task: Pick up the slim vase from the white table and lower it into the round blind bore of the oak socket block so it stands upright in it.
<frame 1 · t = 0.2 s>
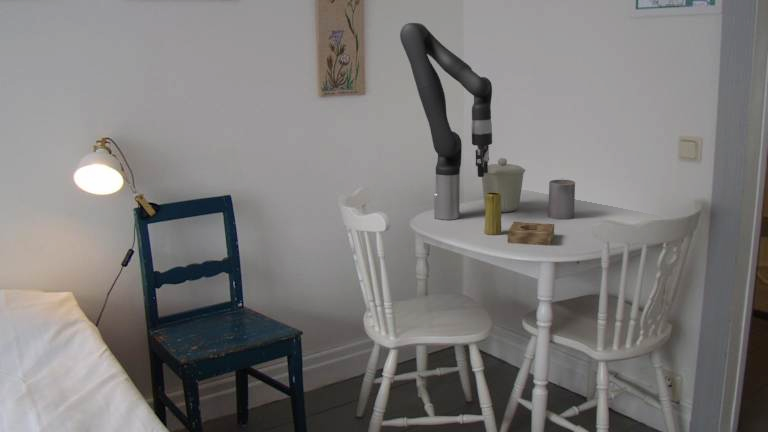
hand: (482, 174, 277), 17 cm above the table, tool pointing down, fingers open, 8 cm apart
canister: (501, 210, 298), on the table
vase: (492, 233, 261), on the table
socket block: (531, 238, 252), on the table
pillar candle: (560, 217, 284), on the table
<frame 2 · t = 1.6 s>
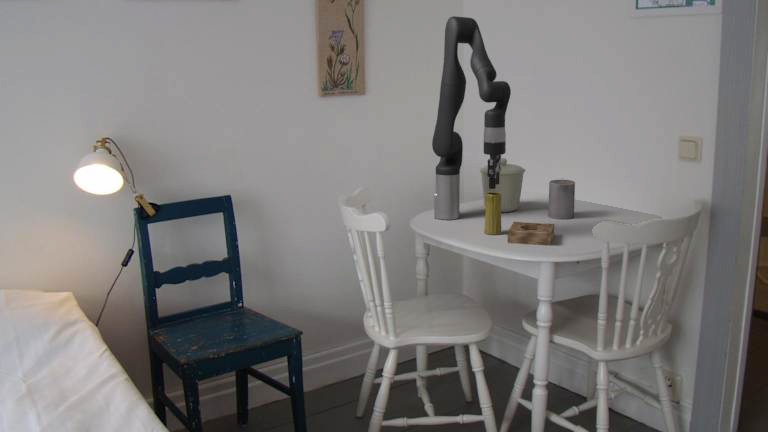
hand: (494, 186, 257), 17 cm above the table, tool pointing down, fingers open, 8 cm apart
nothing on the table moved.
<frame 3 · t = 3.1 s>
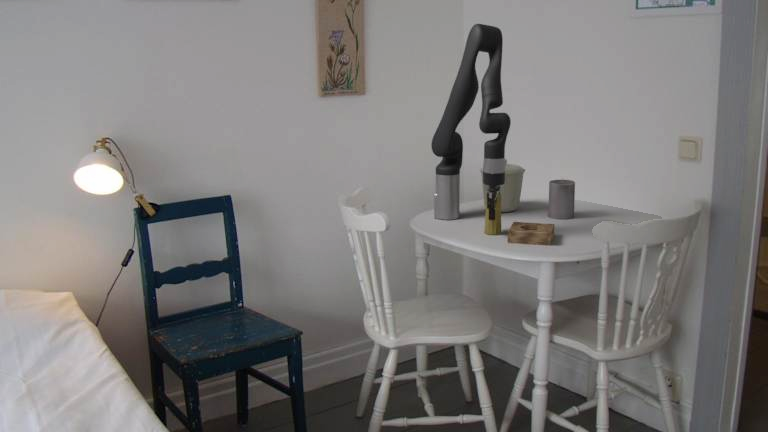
hand: (493, 217, 259), 6 cm above the table, tool pointing down, fingers closed on vase, 5 cm apart
vase: (492, 233, 261), on the table, touching gripper
everything else where it was.
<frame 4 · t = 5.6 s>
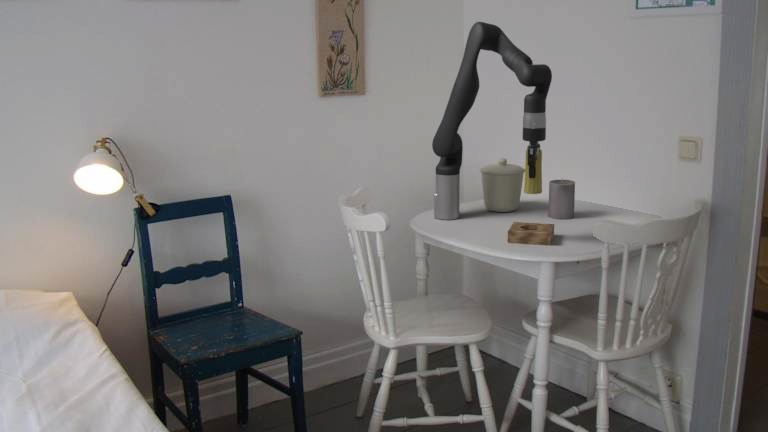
hand: (533, 176, 247), 22 cm above the table, tool pointing down, fingers closed on vase, 5 cm apart
vase: (532, 193, 248), point 16 cm above the table, touching gripper
everything else where it was.
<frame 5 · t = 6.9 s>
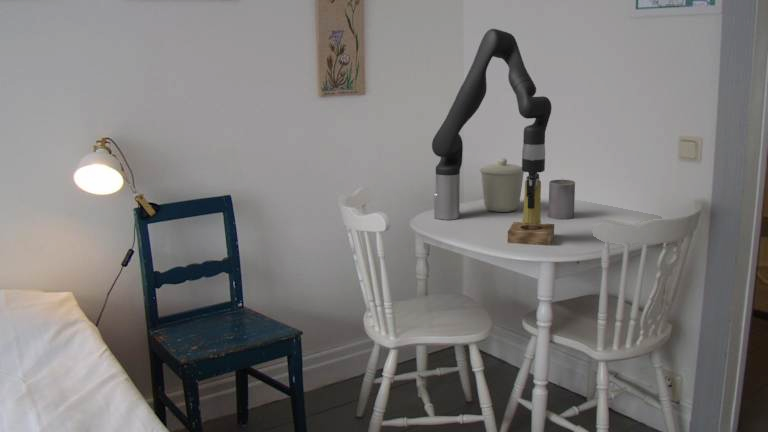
hand: (532, 206, 249), 11 cm above the table, tool pointing down, fingers closed on vase, 5 cm apart
vase: (531, 222, 251), point 6 cm above the table, touching gripper
everything else where it was.
when the fingers open (8 cm above the table, at t = 8.1 s): vase drops 1 cm, resting on socket block.
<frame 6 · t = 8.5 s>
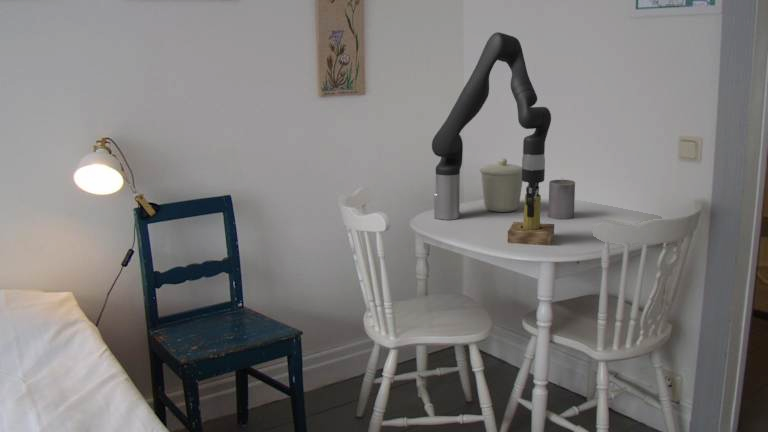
hand: (531, 214, 250), 9 cm above the table, tool pointing down, fingers open, 8 cm apart
vase: (531, 236, 252), point 1 cm above the table, touching socket block
everything else where it was.
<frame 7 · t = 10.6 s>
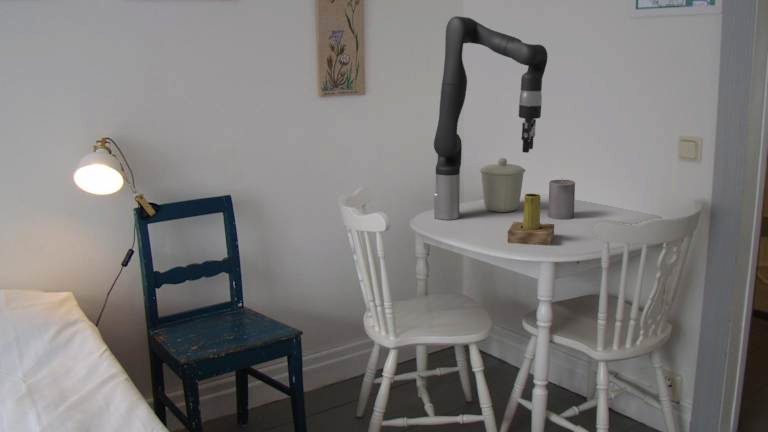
hand: (527, 150, 257), 29 cm above the table, tool pointing down, fingers open, 8 cm apart
nothing on the table moved.
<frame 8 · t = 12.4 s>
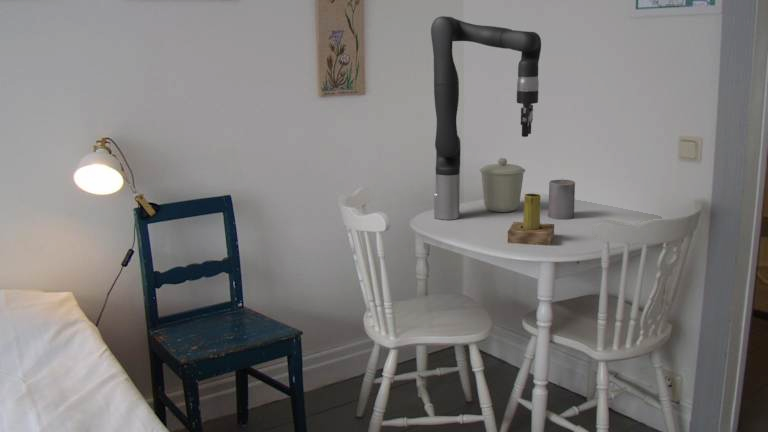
hand: (526, 135, 265), 33 cm above the table, tool pointing down, fingers open, 8 cm apart
nothing on the table moved.
at the end: vase 0.1 cm off-centre on the socket block, point 0.9 cm above the socket block's base; vase tilted 0°; the gripper is holding nothing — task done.
